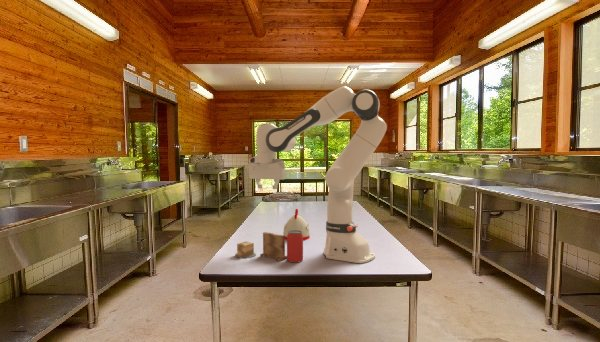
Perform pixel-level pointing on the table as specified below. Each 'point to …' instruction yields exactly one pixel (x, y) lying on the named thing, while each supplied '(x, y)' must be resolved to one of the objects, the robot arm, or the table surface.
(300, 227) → the kitchen timer
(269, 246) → the screen
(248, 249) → the letter cube
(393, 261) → the table surface
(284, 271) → the table surface
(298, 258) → the beer can
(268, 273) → the table surface
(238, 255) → the slate mat
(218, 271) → the table surface
